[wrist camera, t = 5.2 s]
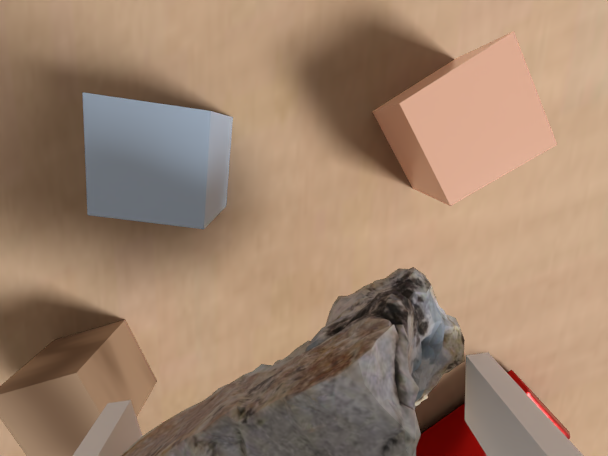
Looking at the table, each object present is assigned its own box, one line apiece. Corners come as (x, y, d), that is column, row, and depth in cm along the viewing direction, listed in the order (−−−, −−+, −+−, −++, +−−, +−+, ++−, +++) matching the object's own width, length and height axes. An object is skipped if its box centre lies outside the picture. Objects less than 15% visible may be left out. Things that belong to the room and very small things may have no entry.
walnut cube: (90, 398, 23) (36, 469, 18) (55, 339, 21) (-14, 398, 17) (157, 380, 23) (120, 446, 18) (125, 318, 21) (76, 372, 16)
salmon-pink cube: (412, 187, 19) (450, 205, 15) (371, 111, 18) (399, 103, 13) (490, 142, 19) (557, 144, 14) (453, 59, 18) (513, 31, 13)
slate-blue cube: (139, 194, 19) (87, 215, 14) (139, 104, 18) (82, 92, 13) (226, 205, 19) (204, 229, 15) (233, 117, 18) (210, 111, 13)
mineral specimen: (335, 333, 18) (248, 185, 13) (507, 381, 13) (481, 168, 8) (227, 548, 13) (-8, 443, 7) (453, 774, 8) (228, 988, 2)
